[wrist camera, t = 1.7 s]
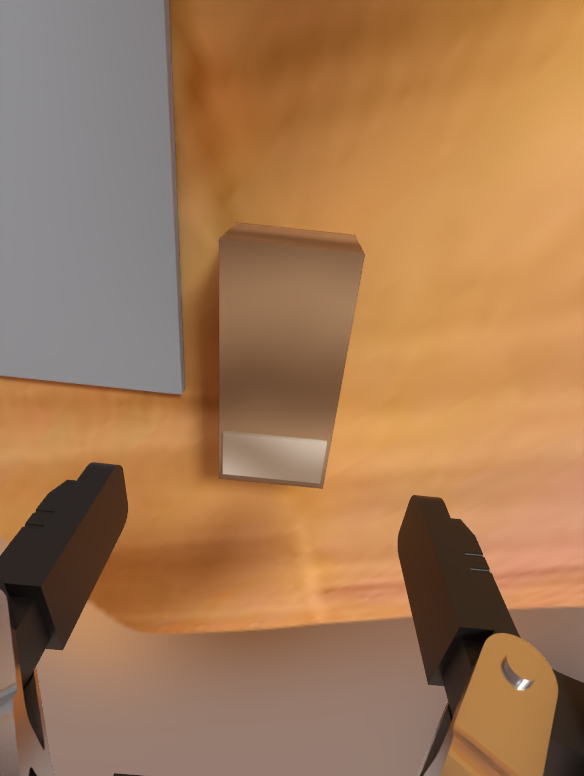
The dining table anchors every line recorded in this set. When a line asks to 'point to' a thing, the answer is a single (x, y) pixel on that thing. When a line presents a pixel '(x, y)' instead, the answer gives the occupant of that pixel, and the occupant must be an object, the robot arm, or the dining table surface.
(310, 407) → the brown rectangular block
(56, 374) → the slate mat
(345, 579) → the dining table surface
